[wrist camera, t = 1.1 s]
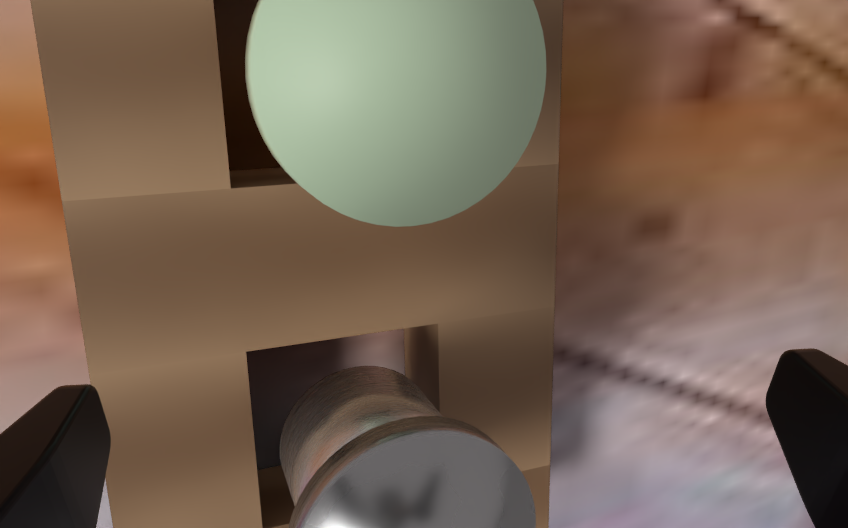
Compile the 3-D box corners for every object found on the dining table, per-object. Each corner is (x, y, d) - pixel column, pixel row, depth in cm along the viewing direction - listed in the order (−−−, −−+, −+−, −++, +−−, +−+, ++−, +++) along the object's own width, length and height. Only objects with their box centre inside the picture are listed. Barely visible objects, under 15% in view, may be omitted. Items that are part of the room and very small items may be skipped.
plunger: (451, 504, 20) (533, 624, 16) (266, 548, 18) (302, 694, 14) (449, 333, 19) (538, 412, 14) (250, 364, 17) (283, 463, 13)
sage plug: (447, 177, 17) (542, 213, 13) (234, 194, 16) (264, 240, 12) (444, -47, 16) (550, -88, 12) (211, -54, 15) (236, -104, 10)
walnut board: (504, 485, 25) (547, 536, 22) (134, 571, 21) (131, 645, 19) (515, -532, 18) (581, -642, 15) (-56, -686, 14) (-107, -872, 11)
